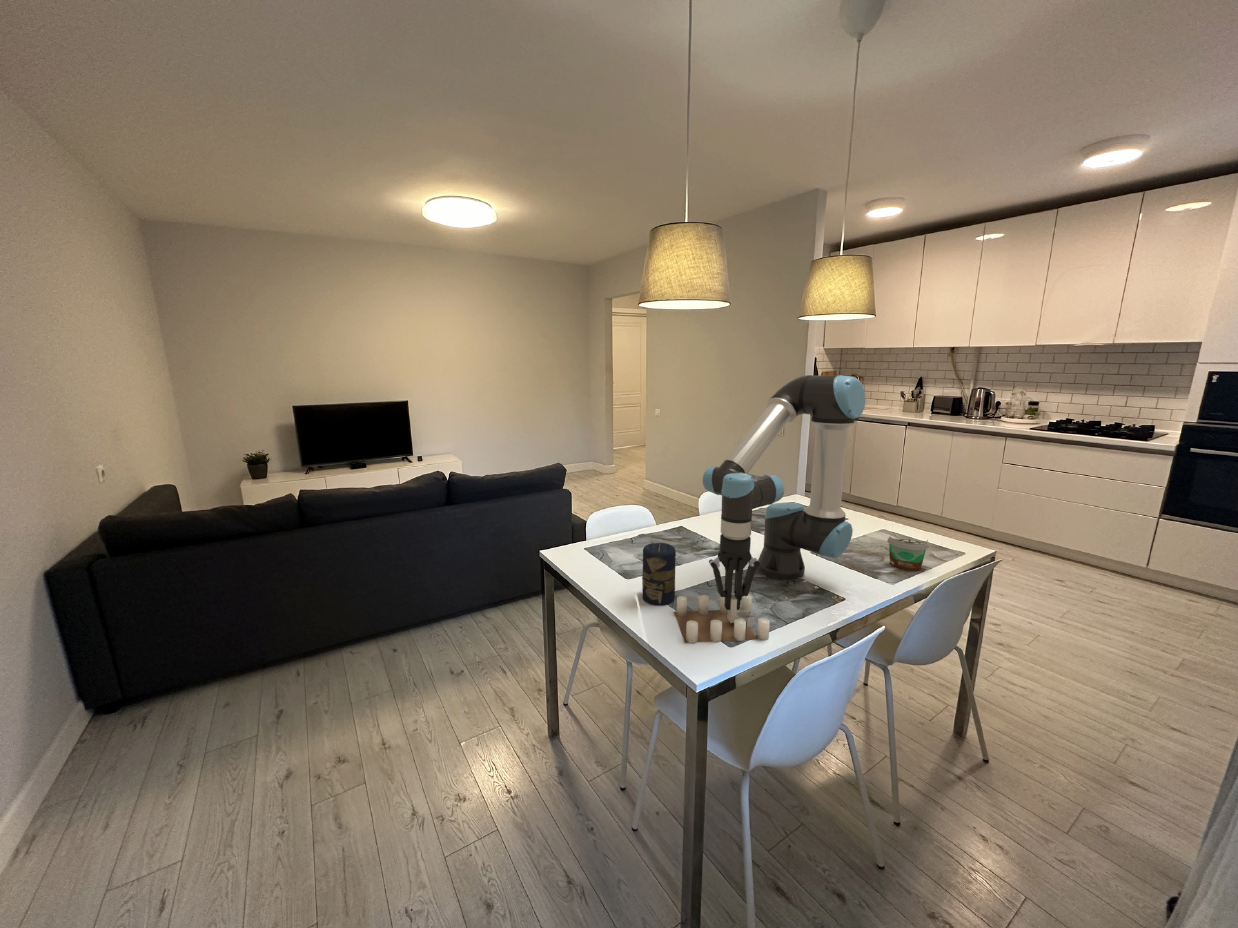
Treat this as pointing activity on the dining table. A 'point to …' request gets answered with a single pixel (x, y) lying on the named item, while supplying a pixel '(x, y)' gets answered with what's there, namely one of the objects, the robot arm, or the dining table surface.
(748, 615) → the nut
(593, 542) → the dining table surface
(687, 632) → the spacers
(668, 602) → the canister
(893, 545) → the food container
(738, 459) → the robot arm
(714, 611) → the board
